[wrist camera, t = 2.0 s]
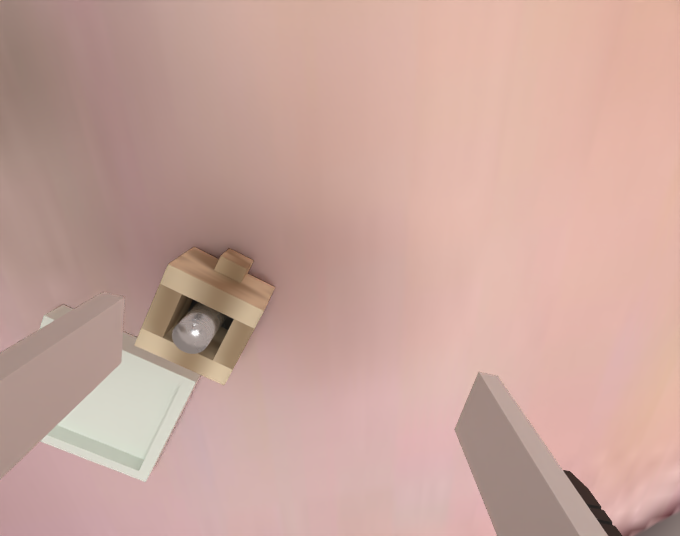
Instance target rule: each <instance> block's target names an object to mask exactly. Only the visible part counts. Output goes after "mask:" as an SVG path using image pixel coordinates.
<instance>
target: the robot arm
mask: <svg viewBox="0 0 680 536" xmlns="http://www.w3.org/2000/svg"><path fill="white" fill-rule="evenodd" d="M124 304H125V297H124V296H120V295H115V294H110V293H105V292H102V293H100V294H98V295H97V296H95V297H93V298H92V299H90V300H88V301H87V302H85V303H83V304H81V305H80V306H78V307H76V308H75V309H73V310H71V311H70V312H68V313H66V314H65V315H63V316H61V317H60V318H58V319H56V320H54V321H53V322H51V323H49V324H48V325H46V326H44V327H43V328H41V329H39V330H38V331H36V332H34V333H33V334H31V335H29V336H27V337H26V338H24V339H22V340H21V341H19V342H17V343H16V344H14V345H12V346H11V347H9V348H7V349H6V350H4V351H2V352H0V479H1V478H2V477H3V476H5V475H6V474H7V473H8V472H9V471H10V470H11V469H12V468H13V467H14V466H15V465H16V464H17V463H18V462H19V461H20V460H21V459H22V458H23V457H24V456H25V455H26V454H27V453H28V452H29V451H30V450H31V449H33V448H34V447H35V446H36V445H37V444H38V443H39V442H40V441H41V440H42V439H43V438H44V437H45V436H46V435H47V434H48V433H49V432H50V431H51V430H52V429H53V428H54V427H55V426H56V425H57V424H58V423H59V422H61V421H62V420H63V419H64V418H65V417H66V416H67V415H68V414H69V413H70V412H71V411H72V410H73V409H74V408H75V407H76V406H77V405H78V404H79V403H80V402H81V401H82V400H83V399H84V398H85V397H86V396H87V395H89V394H90V393H91V392H92V391H93V390H94V389H95V388H96V387H97V386H98V385H99V384H100V383H101V382H102V381H103V380H104V379H105V378H106V377H107V376H108V375H109V374H110V373H111V372H112V371H113V370H114V369H116V368H117V367H118V366H119V365H120V364H121V362H122V343H123V324H124ZM455 432H456V434H457V437H458V439H459V442H460V444H461V447H462V449H463V452H464V454H465V457H466V459H467V462H468V464H469V467H470V469H471V472H472V474H473V477H474V479H475V482H476V484H477V487H478V489H479V491H480V494H481V496H482V499H483V501H484V504H485V506H486V509H487V511H488V514H489V516H490V519H491V521H492V524H493V526H494V529H495V531H496V534H497V536H622V535H621V533H620V532H619V531H618V529H617V528H616V527H615V526H613V525H612V521H611V520H610V518H609V517H608V516H607V514H606V513H605V511H604V510H601V506H600V504H599V503H598V502H597V500H596V499H595V498H594V496H593V495H592V493H591V492H590V491H589V489H588V488H587V487H586V486H585V485H584V484H583V483H582V482H581V481H580V480H578V479H577V478H576V477H575V476H574V475H573V474H572V473H571V472H570V471H566V470H562V468H561V467H560V465H559V464H558V462H557V461H556V460H555V458H554V457H553V455H552V454H551V452H550V451H549V449H548V448H547V446H546V445H545V444H544V442H543V441H542V439H541V438H540V436H539V435H538V433H537V432H536V431H535V429H534V428H533V426H532V425H531V423H530V422H529V420H528V419H527V417H526V416H525V415H524V413H523V412H522V410H521V409H520V407H519V406H518V404H517V403H516V402H515V400H514V399H513V397H512V396H511V394H510V393H509V391H508V390H507V388H506V387H505V386H504V384H503V383H502V381H501V380H500V378H499V377H498V376H496V375H491V374H487V373H482V372H478V374H477V377H476V379H475V382H474V384H473V386H472V389H471V391H470V394H469V396H468V398H467V401H466V403H465V405H464V408H463V410H462V413H461V415H460V417H459V420H458V422H457V425H456V427H455Z"/></svg>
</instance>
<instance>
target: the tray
mask: <svg viewBox="0 0 680 536" xmlns="http://www.w3.org/2000/svg"><path fill="white" fill-rule="evenodd" d="M71 310H73V309H72V308H70V307H68V306H66V305H61V306H60V307H58V308H56V309H54V310H53V311H51V312H49V313H47V314H45V315H44V317H43V320H42V323H41V326H40V329H41V328H43V327H44V326H46V325H48V324H49V323H51V322H53V321H54V320H56V319H58V318H60V317H61V316H63V315H65V314H66V313H68V312H70V311H71ZM136 340H137V337H135V336H132V335H130V334H128V333H126V332H124V331H123V343H122V362H121V364H120V365H119V366H118V367H117V368H116V369H114V370H113V371H112V372H111V373H110V374H109V375H108V376H107V377H106V378H105V379H104V380H103V381H102V382H101V383H100V384H99V385H98V386H97V387H96V388H95V389H94V390H93V391H92V392H91V393H90V394H89V395H87V396H86V397H85V398H84V399H83V400H82V401H81V402H80V403H79V404H78V405H77V406H76V407H75V408H74V409H73V410H72V411H71V412H70V413H69V414H68V415H67V416H66V417H65V418H64V419H63V420H62V421H61V422H59V423H58V424H57V425H56V426H55V427H54V428H53V429H52V430H51V431H50V432H49V433H48V434H47V435H46V436H45V437H44V438H43V439H42V440H41V441H40V442H43V443H46V444H48V445H51V446H53V447H56V448H59V449H61V450H64V451H66V452H69V453H72V454H74V455H77V456H79V457H82V458H84V459H87V460H90V461H92V462H95V463H97V464H100V465H103V466H105V467H108V468H110V469H113V470H116V471H118V472H121V473H123V474H126V475H129V476H131V477H134V478H136V479H139V480H141V481H144V482H146V481H147V479H148V478H149V476H150V474H151V472H152V471H153V469H154V467H155V466H156V464H157V462H158V460H159V458H160V456H161V454H162V452H163V450H164V448H165V446H166V444H167V442H168V440H169V438H170V436H171V434H172V432H173V430H174V428H175V426H176V424H177V422H178V420H179V418H180V416H181V414H182V412H183V410H184V408H185V406H186V404H187V402H188V400H189V398H190V396H191V394H192V392H193V390H194V388H195V386H196V384H197V382H198V380H199V379H200V377H201V375H200V374H198V373H195V372H193V371H191V370H189V369H186V368H184V367H182V366H180V365H177V364H175V363H173V362H171V361H168V360H166V359H164V358H162V357H159V356H157V355H155V354H153V353H150V352H148V351H146V350H144V349H141V348H139V347H137V346H135V345H134V344H135V342H136Z"/></svg>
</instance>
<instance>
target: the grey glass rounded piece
mask: <svg viewBox="0 0 680 536" xmlns="http://www.w3.org/2000/svg"><path fill="white" fill-rule="evenodd" d="M188 311H189V312H188V313H187V314H186V316H185V317H184V318H183V319H182V320H181V321H180V322H179V323H178V324H177V325H176V326H175V328H174V329H173V332H172V339H173V342H174V344H175V345H176V347H177V348H179V349H180V350H181V351H183V352H186V353H189V354H196V353H200V352H202V351H203V350H205V349H206V347H207V346H208V344H209V343H210V341H211V340H212V338H213V337H214V335H215V334H216V333H217V331H218V330H219V328H220V327H223V328H225V329H227V330H229V328H230V326H231V324H232V322H233V320H234V319H233V318H231V317H229V316H227V315H225V314H223V313H221V312H218V311H216V310H214V309H212V308H210V307H208V306H206V305H204V304H202V303H200V302H197V301H195V300H193V301H192V303H191V305H190V307H189V309H188Z"/></svg>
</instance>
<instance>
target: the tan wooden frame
mask: <svg viewBox="0 0 680 536" xmlns="http://www.w3.org/2000/svg"><path fill="white" fill-rule="evenodd" d="M253 261H254V260H252V259H250V258H248V257H246V256H244V255H242V254H240V253H238V252H236V251H234V250H232V249H230V248H229V249H228V250H227V251H226V252H224V253H223V254H222V255H221V256H220V258H219V259H218V258H216V257H214V256H212V255H210V254H208V253H206V252H204V251H202V250H200V249H198V248H196V247H193V248H191V249H190V250H188V251H187V252H185V253H184V254H182V255H181V256H179V257H178V258H176V259H175V260H174V261H172V262H171V263H169V264H168V266H167V268H166V270H165V273H164V275H163V277H162V280H161V282H160V285H159V287H158V289H157V292H156V294H155V297H154V299H153V301H152V304H151V306H150V309H149V311H148V313H147V316H146V318H145V320H144V323H143V325H142V328H141V330H140V332H139V335H138V337H137V340H136V342H135V344H134V345H135V346H137V347H139V348H141V349H144V350H146V351H148V352H150V353H153V354H155V355H157V356H159V357H162V358H164V359H166V360H168V361H171V362H173V363H175V364H177V365H180V366H182V367H184V368H186V369H189V370H191V371H193V372H195V373H198V374H200V375H202V376H204V377H207V378H209V379H211V380H213V381H216V382H218V383H220V384H222V385H225V383H226V381H227V379H228V378H229V376H230V374H231V372H232V370H233V368H234V366H235V364H236V363H237V361H238V359H239V357H240V355H241V353H242V351H243V349H244V348H245V346H246V344H247V342H248V340H249V338H250V336H251V334H252V333H253V331H254V329H255V327H256V325H257V323H258V321H259V320H260V318H261V316H262V314H263V312H264V310H265V308H266V306H267V304H268V302H269V300H270V297H271V295H272V293H273V291H274V289H275V287H274V286H272V285H270V284H268V283H266V282H264V281H262V280H260V279H258V278H256V277H254V276H252V275H250V274H248V272H249V270H250V268H251V266H252V263H253ZM193 300H195V301H197V302H200V303H202V304H204V305H206V306H208V307H210V308H212V309H214V310H216V311H218V312H221V313H223V314H225V315H227V316H229V317H231V318H233V319H234V320H233V322H232V324H231V326H230V328H229V330H227V329H225V328H223V327H220V328H219V330H218V331H217V333H216V334H215V335H214V337H213V338H212V340H211V341H210V343H209V344H208V346H207V347H206V349H205V350H203V351H202V352H200V353H196V354H189V353H186V352H183V351H181V350H180V349H179V348H177V347H176V345H175V344H174V342H173V339H172V332H173V329H174V328H175V326H176V325H177V324H178V323H179V322H180V321H181V320H182V319H183V318H184V317H185V316H186V314H187V313H188V312H189V311H188V309H189V307H190V305H191V303H192V301H193Z"/></svg>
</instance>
